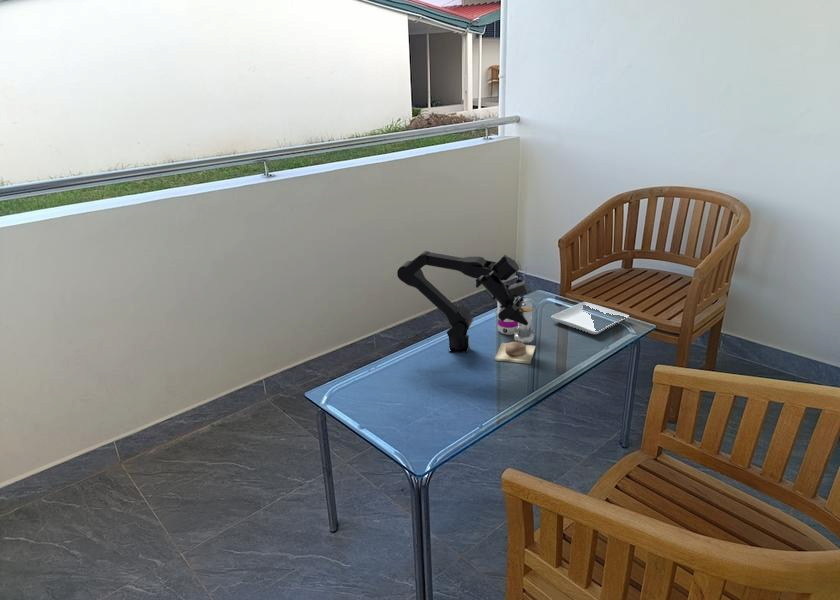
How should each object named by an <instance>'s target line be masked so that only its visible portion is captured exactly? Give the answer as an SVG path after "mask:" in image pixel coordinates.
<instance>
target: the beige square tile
mask: <svg viewBox="0 0 840 600" xmlns="http://www.w3.org/2000/svg"><path fill="white" fill-rule="evenodd" d="M536 348H537V347H536V345H531V344H530V345H529V344H526V343H521V342H518V341H511V342H501V344H500V347H499V349H498V350H497V352H496V355H495V357H494V361H499V362H509V363H519V364H531V362H532V360H533V357H534V353H535V351H536Z"/></svg>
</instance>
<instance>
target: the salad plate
mask: <svg viewBox="0 0 840 600" xmlns="http://www.w3.org/2000/svg"><path fill="white" fill-rule="evenodd" d="M583 305H586V306H589V307H590V308H591V309H592V308H593V309H595V310H596V309H597V310H599V311H600V312H603V313H604V314H606V313H609V314H611V315H612V314H613V315H620V316H624V317H626V318H627V319H629V317H630V315H629V314H627V313H624V312H620V311H617V310H613V309H610V308H608V307H604V306H601V305H598V304H594V303H591V302H587V301H582V302H579V303H577V304H575V305H573V306H571V307H568V308H565V309H564V310H562V311H560V312H559V311H558V312H557V313H554V314H552V315H551V319H553V320H554V321H555V322H557V323H560V324H562V325H565V326H567V327H569V328H573V329H575V328H576V330H578V329H579V330H578V331H581V330H582V331H581V332H584V331H585V332H584V333H587V332H588V334H591V335H598V334H600V333H602V332H604V331H606V330H608V329H610V328H612V327H614V326H616V325H617V324H616V323H618V322H620V321H622V320H624V319H625V318H624V319H621V320H619V321H617V322H614V323H612V324H610V325H608V326H606V327H605V328H603V329H601V330H599V331H595V330H596V329H595V328H594V323H593V321H594V320H592V319H591V314H590V315H589V314H588V313H586V312H583V311H582V309H583ZM615 324H616V325H615ZM618 324H619V323H618ZM613 325H614V326H613ZM611 326H612V327H611ZM609 327H610V328H609ZM607 328H608V329H607ZM605 329H606V330H605Z"/></svg>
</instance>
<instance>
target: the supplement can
mask: <svg viewBox="0 0 840 600" xmlns="http://www.w3.org/2000/svg"><path fill="white" fill-rule="evenodd" d="M518 297H520V296H518ZM496 302H497V303H496V304H497V315H498V314H499V312H500V310H501V309H502V308H501V307H500V306H501V304H500V303H499V302H498V301H497V300H496ZM515 328H518V322H516V321H513V320H510V319H505V320H504V321H501V320H500V319H499V318H498V317H497V331H498V332H499V333H501V334H503V335H515V333H516V332H514V329H515Z"/></svg>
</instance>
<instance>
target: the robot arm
mask: <svg viewBox="0 0 840 600" xmlns="http://www.w3.org/2000/svg"><path fill="white" fill-rule="evenodd" d="M424 266H430V267H435V268H440V269H441V268H442V269H446V270H452V271H457V272H459V273H461V274H463V275H464V276H467V277H470V278H472V279H475V288H477V289H478V288H479V287H481V286H483V287H484V289H485V290H487V292H488V293H489V294H490V295H491V296H492V297H491V299H492V300H493V301H494V300H496V302H497V301H498V302H499V303H500V304H501V306H500V307H501V308H502V309H501V310H500V312H499V314H498V313H497V319H498V318H499V319H500V320H501V321H504V320H505V319H510V320H513V321H516V322H518V323H521V324H524V325H528V322H527V320H526V319H525V317H524V316H523V315H522V313H521V312H520V305H519V302H521V301H525V295H526V294H528V291H529V290H530V288H529V285H528V281H526V279H524V278H522V277H518V278H517V279H516V280H515V283H514V284H511V285H510V284H509V283H507V282H506V283H504V281H508V280H509V279H510V278H511V277H512V276H513V275H515V274H516V273H517V272H518V271H520V266H519V264H518V263H517V262H516V260H514V259H512V257H510V256H507V255H506V254H504V255H502V256H501V258H500V259H499V260H498V261H497V262H496V261H491V260H488V259H485V258H484V257H482V256H465V257H459V256H453V255H447V254H442V253H435V252H430V251H428V250H424V251H423V252H422V253H420V254H419V255H418V256H417V257H416V258H414V259H412V260H408V261H405V262H404V263H403V264H401V266H400V267H399V268H398V269H397V273H396V274H397V275H396V276H397V278H398V279H399V281H401V282H402V283H404V284H405V285H406V286H409V287H412V288H415V289H416V290H417V291H419V292H420V293H421V294H422V295H423V296H424V297H425V298H426V299H428V301H430V303H432V304H433V305H434V306H435V307H436V308H437V309H438V310H439V311H440V312H441V313H442V314H444V315H445V317H446V320H447V321H448V323H449V325H450V327H449V328H448V329H447V330H446V335H447V337H448V342H449V343H448V346H449V347H448V349H449V348H450V350H451V351H453V352H452V353H468V350H469V348H470V335H468V330H469V329H470V327H471V325H472V324H473V321H474V317H473V315H472V313H471V312H472V311H470V310H468V309H467V308H466V306H465V305H463V304H461V306H457V305H455V304H454V303H453V302H452V301H451V300H450V299H448V297H446V296H445V295H444V294H443V293H442V292H441V291H440V290H439V289H437V288H436V287H435V286H434V285H433V284H432V283H431V282H430V281H429V280H428V279H427V278H426V277H425V275H424V272H423V271H422V268H423V267H424ZM518 296H519V297H518ZM518 305H519V306H518Z"/></svg>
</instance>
